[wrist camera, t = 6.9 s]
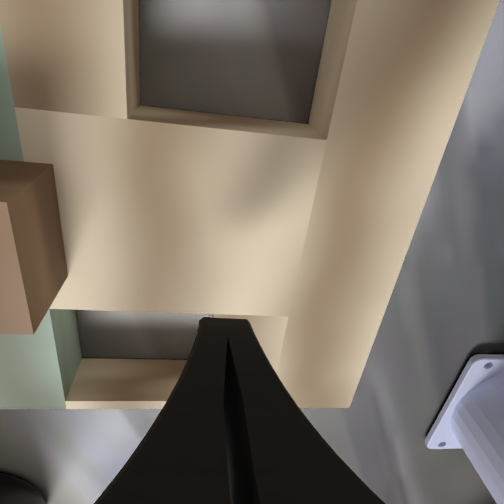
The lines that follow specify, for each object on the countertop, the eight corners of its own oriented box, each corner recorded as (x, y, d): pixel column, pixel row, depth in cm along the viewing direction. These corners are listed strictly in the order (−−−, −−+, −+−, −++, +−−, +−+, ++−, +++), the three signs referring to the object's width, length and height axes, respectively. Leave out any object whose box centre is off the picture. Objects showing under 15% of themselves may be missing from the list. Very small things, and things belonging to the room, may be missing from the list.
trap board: (465, -44, 12) (523, -61, 10) (334, 368, 20) (349, 407, 18) (-111, -154, 9) (-205, -210, 7) (17, 364, 18) (-9, 409, 16)
